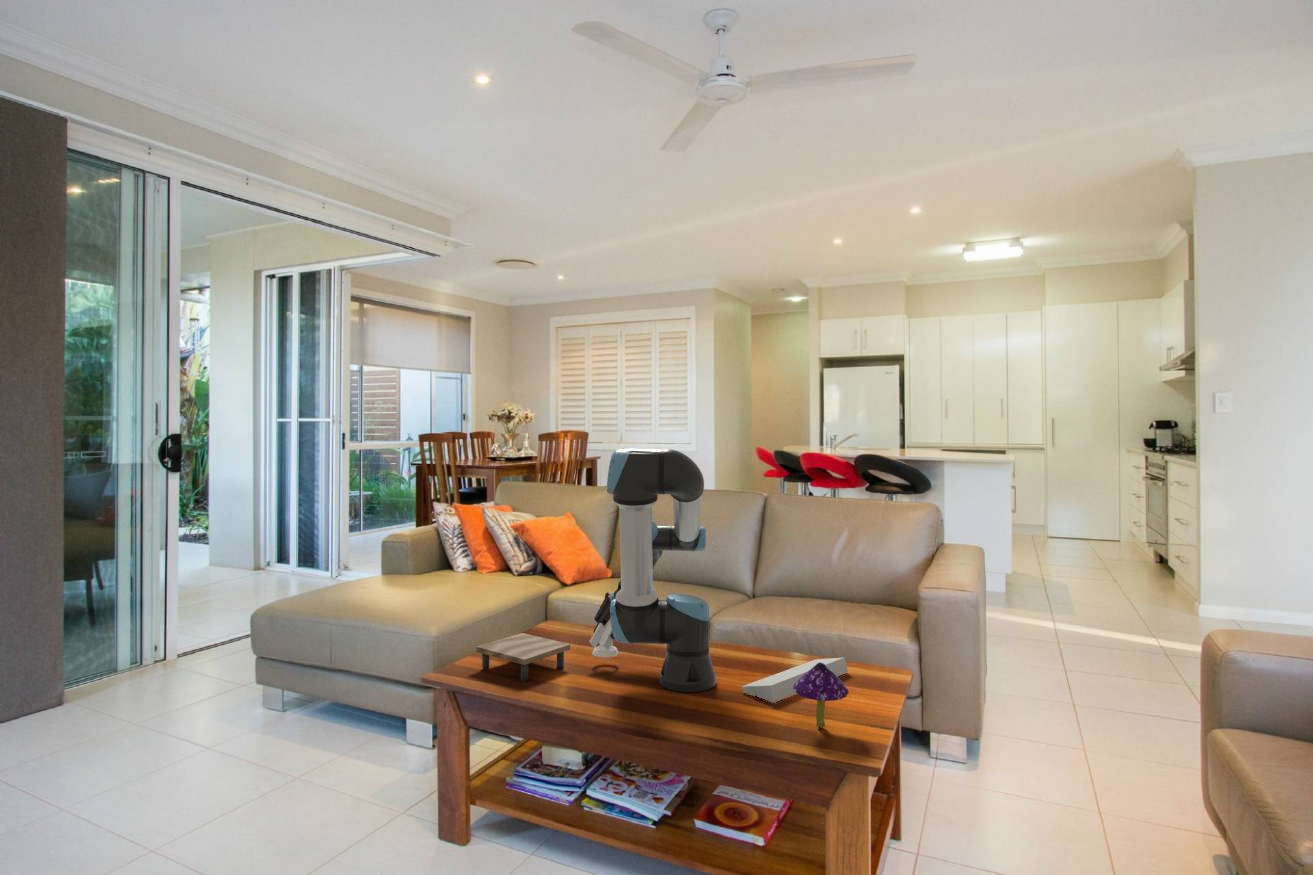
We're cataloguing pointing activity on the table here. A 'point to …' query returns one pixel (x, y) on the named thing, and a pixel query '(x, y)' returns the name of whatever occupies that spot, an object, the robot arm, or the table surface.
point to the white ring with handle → (599, 649)
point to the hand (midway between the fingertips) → (598, 645)
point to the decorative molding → (789, 679)
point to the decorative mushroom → (820, 688)
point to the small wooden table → (523, 651)
